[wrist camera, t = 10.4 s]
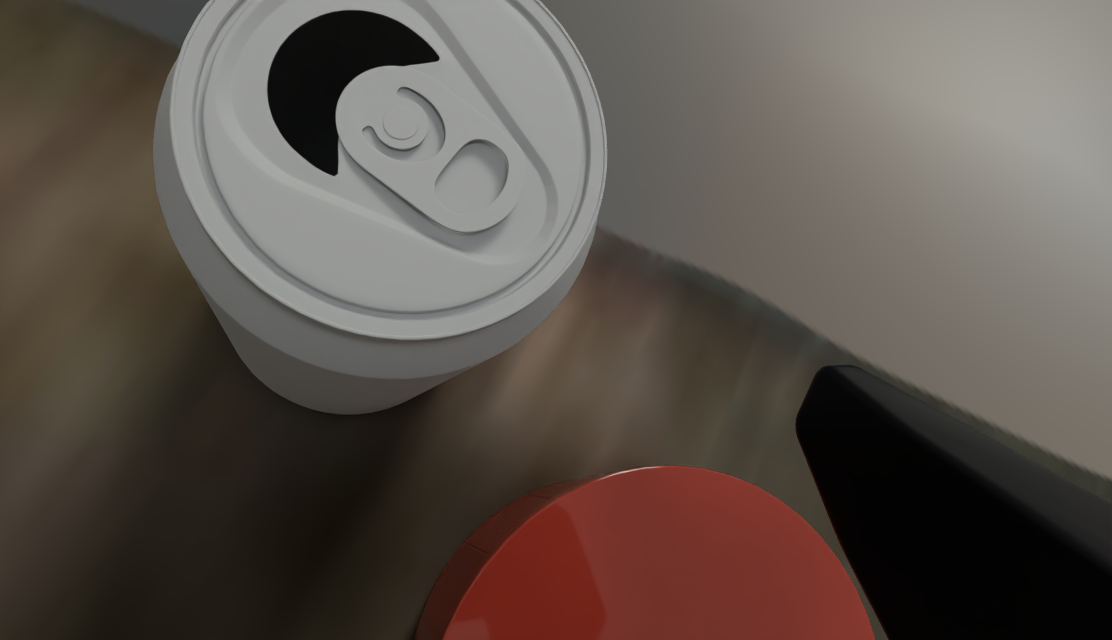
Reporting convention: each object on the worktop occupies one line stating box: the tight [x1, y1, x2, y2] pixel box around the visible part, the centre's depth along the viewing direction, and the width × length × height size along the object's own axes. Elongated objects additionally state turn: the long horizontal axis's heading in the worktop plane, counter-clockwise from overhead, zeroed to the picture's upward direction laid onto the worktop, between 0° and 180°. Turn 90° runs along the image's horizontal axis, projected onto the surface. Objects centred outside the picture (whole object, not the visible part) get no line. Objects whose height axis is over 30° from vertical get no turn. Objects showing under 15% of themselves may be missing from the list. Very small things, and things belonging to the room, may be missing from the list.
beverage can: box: [153, 0, 607, 415], centre depth 16 cm, size 6×6×12 cm
